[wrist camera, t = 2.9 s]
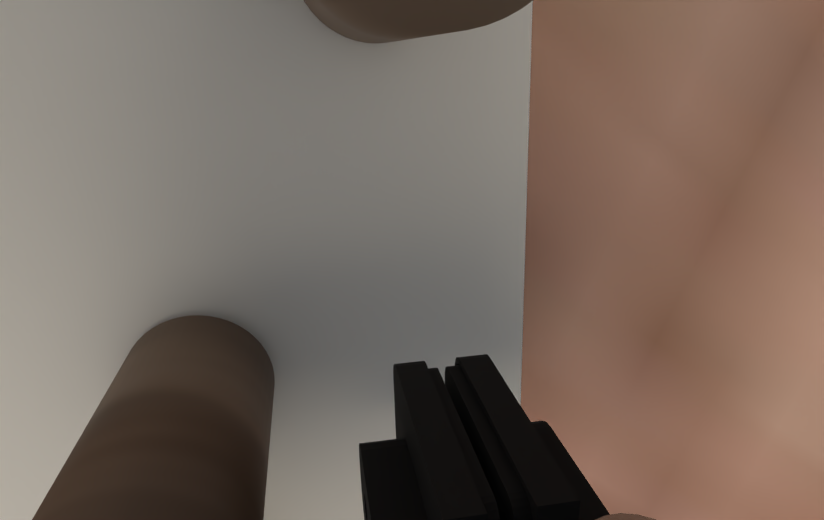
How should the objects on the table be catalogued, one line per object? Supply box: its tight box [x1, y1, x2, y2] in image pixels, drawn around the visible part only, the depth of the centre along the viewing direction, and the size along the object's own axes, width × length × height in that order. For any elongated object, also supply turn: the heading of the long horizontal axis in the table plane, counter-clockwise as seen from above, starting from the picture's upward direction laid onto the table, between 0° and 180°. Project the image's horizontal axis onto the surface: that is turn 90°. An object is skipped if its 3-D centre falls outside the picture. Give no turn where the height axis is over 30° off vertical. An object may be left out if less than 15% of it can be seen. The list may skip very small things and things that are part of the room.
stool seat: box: [0, 0, 533, 520], centre depth 11 cm, size 22×18×8 cm
